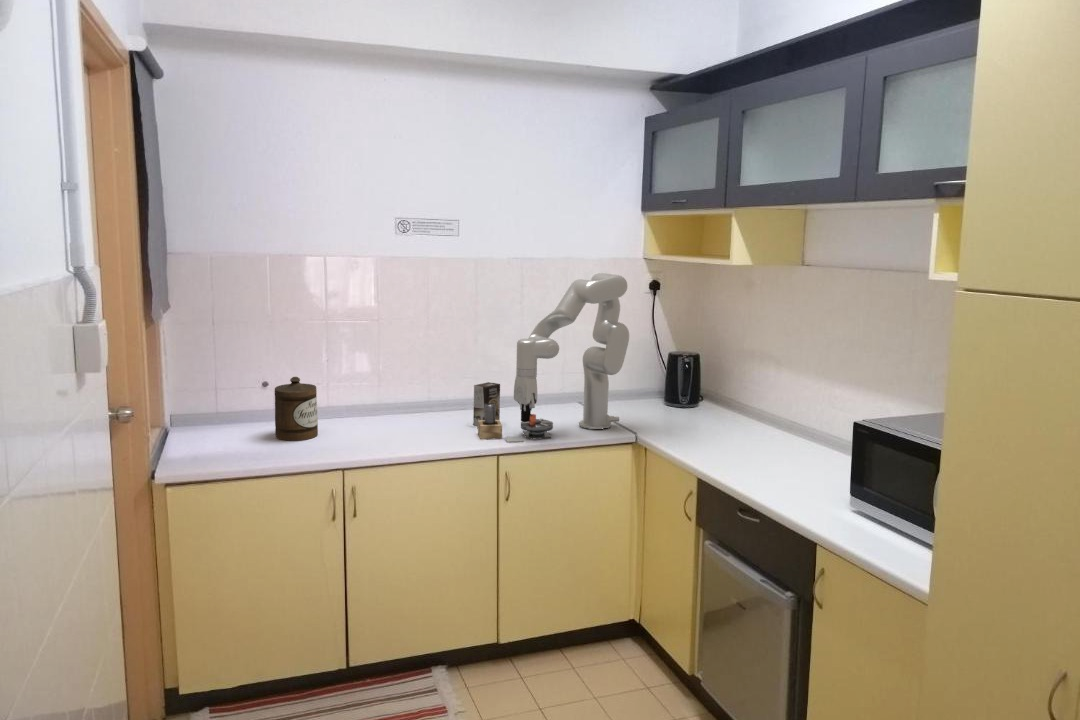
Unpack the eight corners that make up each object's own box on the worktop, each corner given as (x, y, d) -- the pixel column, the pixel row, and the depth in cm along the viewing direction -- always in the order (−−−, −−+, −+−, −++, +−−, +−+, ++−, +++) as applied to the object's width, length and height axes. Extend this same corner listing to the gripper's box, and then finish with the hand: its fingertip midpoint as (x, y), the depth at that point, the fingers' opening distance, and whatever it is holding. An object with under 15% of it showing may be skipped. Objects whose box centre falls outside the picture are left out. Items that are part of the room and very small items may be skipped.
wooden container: (305, 442, 279) (303, 382, 275) (267, 439, 282) (265, 379, 278) (325, 432, 294) (323, 374, 290) (288, 429, 296) (286, 371, 293)
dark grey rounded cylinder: (494, 434, 295) (494, 403, 293) (495, 437, 291) (496, 405, 289) (483, 434, 294) (484, 403, 292) (485, 437, 290) (485, 406, 288)
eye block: (498, 432, 297) (499, 419, 297) (502, 438, 290) (502, 425, 289) (477, 433, 296) (478, 420, 295) (480, 439, 288) (480, 425, 287)
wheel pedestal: (545, 431, 300) (546, 425, 300) (550, 438, 291) (551, 431, 291) (522, 432, 298) (522, 426, 298) (527, 439, 290) (527, 432, 289)
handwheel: (527, 422, 302) (527, 406, 301) (556, 425, 298) (557, 409, 297) (516, 430, 290) (516, 414, 289) (546, 433, 287) (547, 417, 285)
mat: (520, 437, 292) (520, 436, 291) (523, 441, 286) (523, 440, 286) (504, 438, 290) (504, 436, 290) (507, 442, 285) (507, 441, 285)
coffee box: (485, 427, 304) (485, 387, 301) (472, 425, 308) (473, 384, 305) (500, 423, 311) (500, 383, 308) (488, 420, 315) (488, 381, 312)
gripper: (507, 370, 292) (507, 417, 296) (528, 377, 280) (527, 427, 283) (525, 368, 296) (524, 415, 300) (546, 375, 284) (544, 424, 287)
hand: (525, 421), depth 291 cm, fingers closed
